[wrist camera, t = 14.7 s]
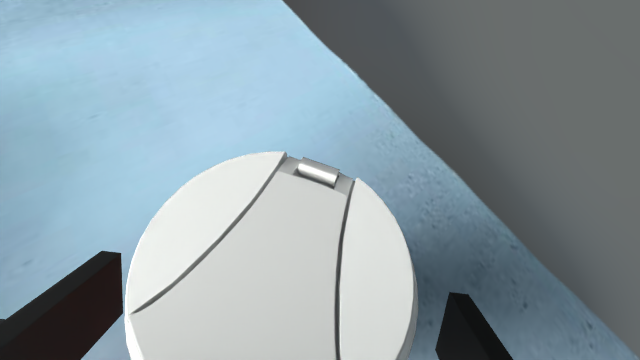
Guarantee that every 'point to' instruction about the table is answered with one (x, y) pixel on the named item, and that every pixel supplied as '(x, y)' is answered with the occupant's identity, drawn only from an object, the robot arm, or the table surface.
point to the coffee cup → (272, 269)
